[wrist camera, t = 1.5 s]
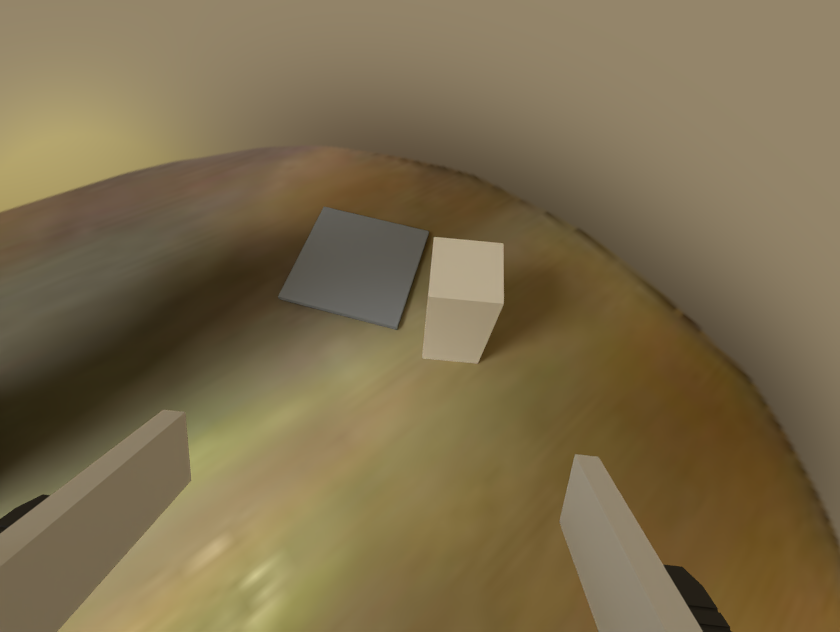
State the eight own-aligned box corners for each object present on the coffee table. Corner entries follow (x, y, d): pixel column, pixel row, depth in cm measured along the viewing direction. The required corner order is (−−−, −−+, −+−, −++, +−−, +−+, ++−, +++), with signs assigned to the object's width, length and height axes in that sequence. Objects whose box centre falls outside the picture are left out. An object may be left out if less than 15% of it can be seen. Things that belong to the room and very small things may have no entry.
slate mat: (279, 299, 46) (278, 296, 46) (324, 209, 53) (323, 206, 52) (396, 329, 45) (396, 327, 45) (428, 234, 51) (428, 231, 51)
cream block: (422, 358, 44) (428, 296, 32) (426, 309, 46) (433, 236, 35) (477, 363, 44) (503, 303, 32) (479, 314, 46) (503, 243, 35)
